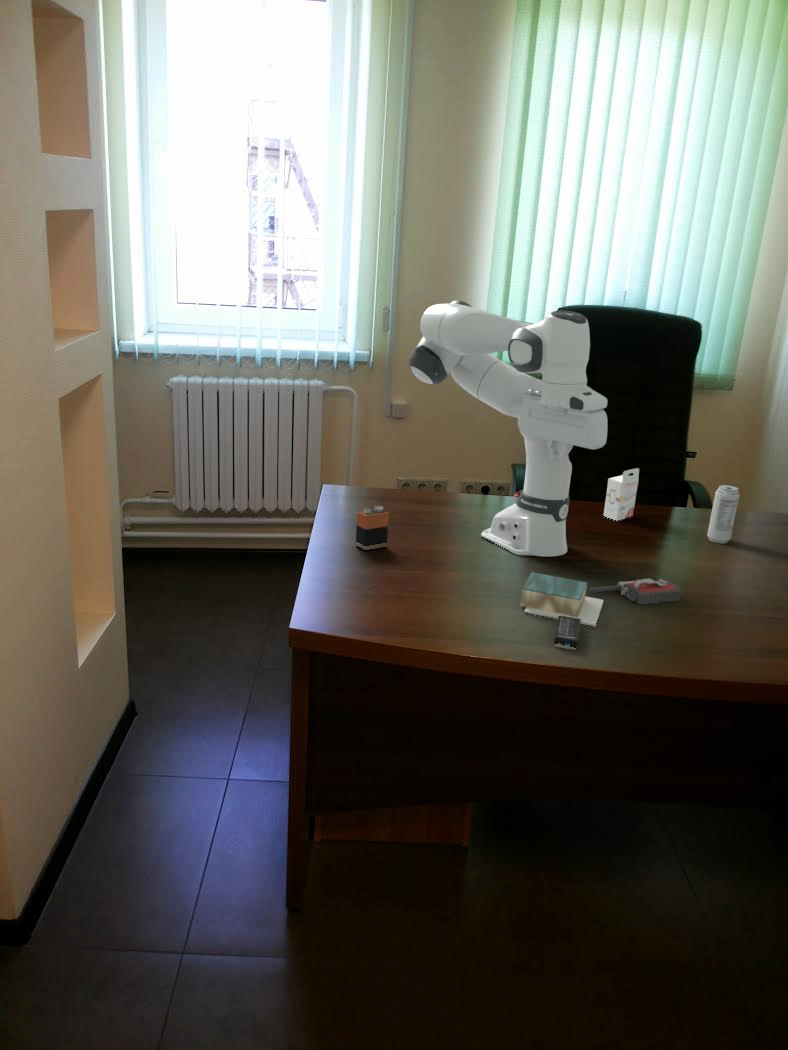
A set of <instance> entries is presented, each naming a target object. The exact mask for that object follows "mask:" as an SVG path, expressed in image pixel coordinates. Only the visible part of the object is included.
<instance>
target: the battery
mask: <svg viewBox="0 0 788 1050" xmlns="http://www.w3.org/2000/svg"><path fill="white" fill-rule="evenodd" d="M356 513H357V514H356V531H355V543H356V542H358V543H360V544H362V545H363V546H370V545H375V544H381V543H387V544H388V537H389V536H388V535H389V534H388V533H389V521H390V518H389V517H390V513H389V512H388V511H386V510H384V507H383V506H382V505H376V506H374V508H372V509H370V508H364V510H359V511H357V512H356Z"/></svg>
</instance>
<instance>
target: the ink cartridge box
mask: <svg viewBox="0 0 788 1050" xmlns="http://www.w3.org/2000/svg"><path fill="white" fill-rule="evenodd" d="M630 474H633V475H630ZM639 474H640V468H639V467H638V468H637V467H636V468H632V469H628V470H624V471H623V472H622V474H621V475H618V476H613V477H610V478H608V479H607V488H606V495H605V496H606V497H605V501H604V509H603V516H605V517H607V518H606V519H608V518H610V519H609V520H611V519H613V520H612V521H615V520H616V522H619V521H623V520H625V518H626V519H629V518H632V517H634V511H635V510H634V509H635V504H636V499H637V498H636V497H637V491H638V486H639V479H640V478H639V476H640V475H639ZM631 516H632V517H631ZM605 517H604V518H605ZM628 517H629V518H628ZM622 519H623V520H622ZM618 520H619V521H618Z"/></svg>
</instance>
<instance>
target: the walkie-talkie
mask: <svg viewBox="0 0 788 1050" xmlns="http://www.w3.org/2000/svg"><path fill="white" fill-rule="evenodd" d="M589 591H590V592H591V593H600V592H601V593H602V592H611V591H612V592H613V591H615V592H616V591H617V592H618V591H619V592H620V595H621V596H625V597H626V598H628V599H629V600H630V602H632V603H633V602H634V603H635V602H636V603H635V604H637V603H638V604H644V605H649V604H648V603H654V604H659V602H660V604H662V602H663V603H669V601H670V602H679V601H680V599H681V592H682V588H681V587H680V586H679V585H677V584H676V583H674V582H672V581H671V580H668V579H666V580H664V579H661V578H659V579H658V580H653V579H652V578H643V579H641V578H640V579H636V580H629V581H618V582H617V584H615V585H608V586H600V587H590V588H589ZM638 604H637V605H638Z"/></svg>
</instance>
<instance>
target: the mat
mask: <svg viewBox="0 0 788 1050" xmlns="http://www.w3.org/2000/svg"><path fill="white" fill-rule="evenodd" d="M603 604H604V599H601V598H595V597H590V596H586V595H585V600H584V603H583V605H582V608H581V611H580V613H579V616H578V617H574V616H569V615H564V614H559V613H554V612H549V611H544V610H539V609H534V608H529V607H525V609H524V612H528V613H533V614H538V615H543V616H548V617H553V618H558V616H566V617H572V618H578V619H581V624H585V625H591V626H595V627H594V628H596V626H597V624H596V623H598V621H599V617H600V613H601V610H602V608H603ZM524 612H523V613H524ZM597 620H598V621H597ZM585 625H584V626H585Z"/></svg>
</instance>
